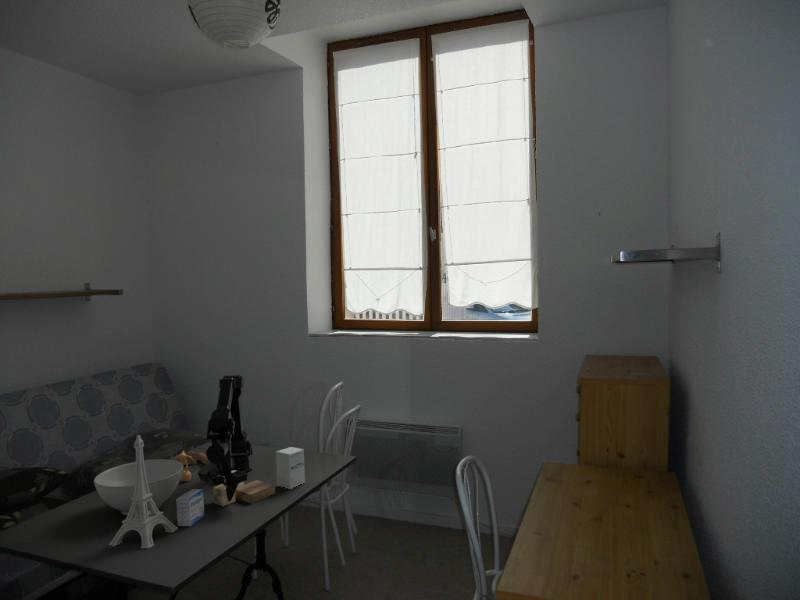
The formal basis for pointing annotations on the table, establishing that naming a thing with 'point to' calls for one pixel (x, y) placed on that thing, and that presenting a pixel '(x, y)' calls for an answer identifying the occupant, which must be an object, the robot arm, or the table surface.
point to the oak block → (222, 495)
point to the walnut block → (254, 491)
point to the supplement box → (290, 467)
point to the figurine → (186, 474)
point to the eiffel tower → (142, 507)
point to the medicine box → (190, 507)
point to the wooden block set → (199, 456)
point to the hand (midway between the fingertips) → (224, 499)
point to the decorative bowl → (121, 483)
